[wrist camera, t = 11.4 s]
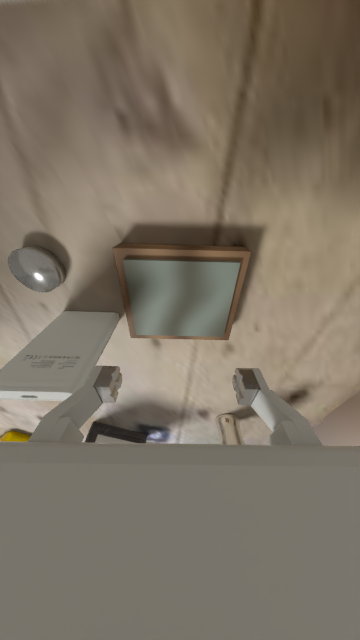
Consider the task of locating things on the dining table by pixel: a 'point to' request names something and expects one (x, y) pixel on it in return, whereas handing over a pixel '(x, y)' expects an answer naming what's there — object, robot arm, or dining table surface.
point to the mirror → (180, 289)
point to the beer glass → (229, 429)
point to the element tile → (15, 437)
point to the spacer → (37, 268)
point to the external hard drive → (58, 357)
